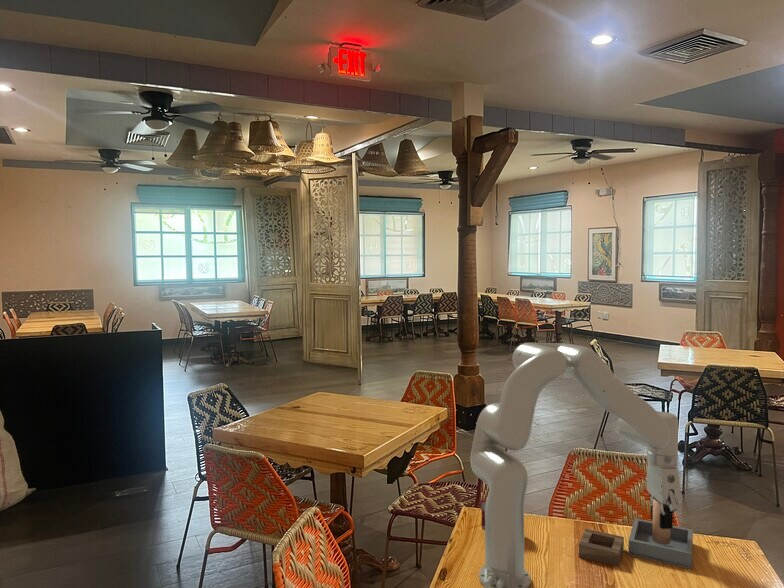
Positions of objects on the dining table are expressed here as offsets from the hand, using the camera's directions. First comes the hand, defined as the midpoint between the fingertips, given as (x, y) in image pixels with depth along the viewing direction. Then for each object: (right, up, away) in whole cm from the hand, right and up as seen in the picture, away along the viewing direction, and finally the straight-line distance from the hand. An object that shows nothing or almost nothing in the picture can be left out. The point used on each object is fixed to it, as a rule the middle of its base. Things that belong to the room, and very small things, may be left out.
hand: (661, 523), depth 151 cm
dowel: (0, -5, 0) cm, 5 cm away
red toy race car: (-42, -8, +9) cm, 44 cm away
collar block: (-17, -8, -1) cm, 19 cm away
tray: (0, -7, 0) cm, 7 cm away
